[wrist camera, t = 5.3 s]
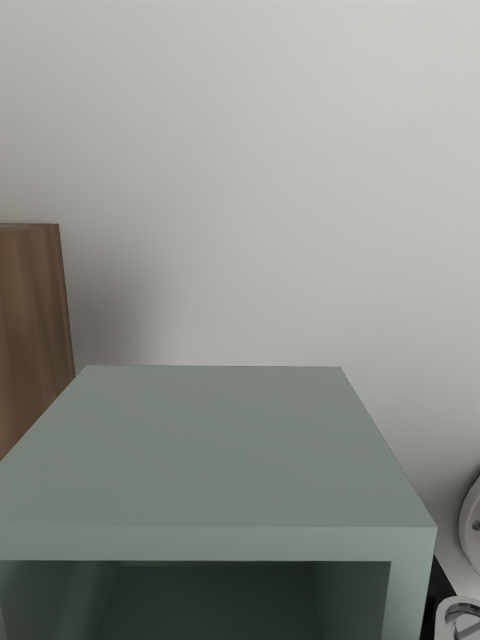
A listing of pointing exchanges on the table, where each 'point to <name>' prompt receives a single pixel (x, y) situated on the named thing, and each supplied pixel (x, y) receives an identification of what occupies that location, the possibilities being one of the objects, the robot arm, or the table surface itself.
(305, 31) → the table surface
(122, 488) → the small crate
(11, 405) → the big crate
